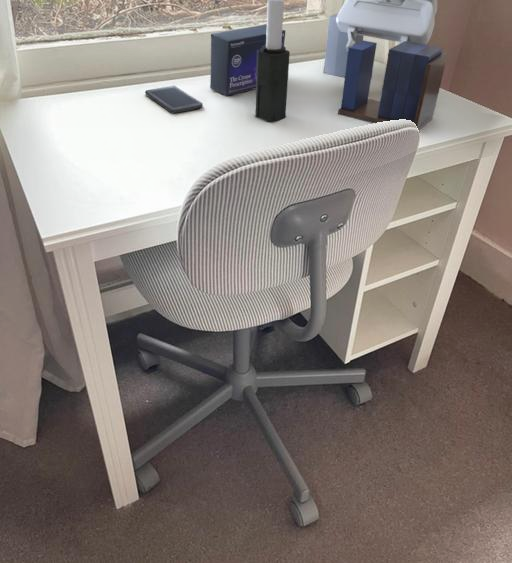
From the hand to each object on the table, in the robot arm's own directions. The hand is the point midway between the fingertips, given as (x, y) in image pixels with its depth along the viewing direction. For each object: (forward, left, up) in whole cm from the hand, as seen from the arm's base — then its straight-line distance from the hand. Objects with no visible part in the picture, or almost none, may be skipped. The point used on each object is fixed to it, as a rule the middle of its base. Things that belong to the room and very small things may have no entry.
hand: (370, 54), depth 111 cm
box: (+27, -1, -11) cm, 29 cm away
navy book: (+1, +4, -9) cm, 10 cm away
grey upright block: (+9, -21, -10) cm, 25 cm away
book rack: (-6, +5, -10) cm, 13 cm away
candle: (+16, +15, -11) cm, 25 cm away
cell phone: (+38, +15, -10) cm, 43 cm away
